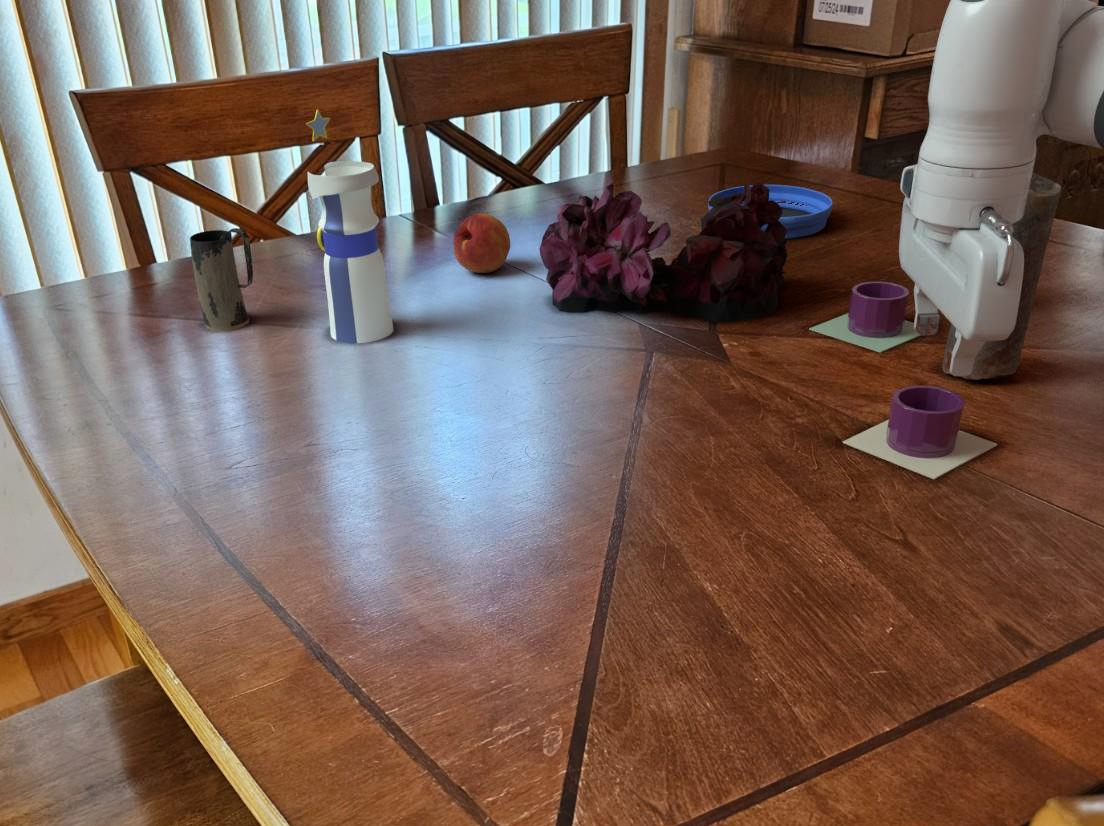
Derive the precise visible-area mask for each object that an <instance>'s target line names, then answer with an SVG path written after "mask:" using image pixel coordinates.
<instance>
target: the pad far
mask: <svg viewBox="0 0 1104 826" xmlns="http://www.w3.org/2000/svg"><path fill="white" fill-rule="evenodd" d="M848 313H849V312H847V313H844V314H842V315H840V316H838V317H835V318H832V319H829V320H828V321H824V322H822V323H820V324H817V325H814V326H812V327H809V331H812V332H816V333H818V334H821V335H825V336H828V337H831V338H833V339H837V340H840V341H843V342H846V343H850V344H853V345H855V346H858V347H861V348H865V349H868V350H871V351H874V352H877V353H880V354H881V353H884V352H886V351H889V350H890V349H894V348H895V347H897V346H900V345H903V344H905V343H908V342H910V341H912V340H914V339H916V338H918V337H922V335H920V334H919V333H918V332H917V331H916V330H915V329H914V322H913V321H909V320H906V319H905V322H904V326H903V331H902V332H901V333H900V334H899V335H896V336H893V337H887V338H870V337H864V336H860V335H857V334H854V333H852V332H850V331H849V330H848V328H847V324H848V321H847V320H848Z"/></svg>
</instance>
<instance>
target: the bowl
mask: <svg viewBox="0 0 1104 826" xmlns="http://www.w3.org/2000/svg"><path fill="white" fill-rule="evenodd" d="M764 185H765V186H766V187H767V188H768V189H769V201H770V200H773V201H775V202H781V201H786V203H778V204H779V206H780V207H781V208H782V209H783V213H782V215H781V217H780V219H779V220H778V221H779V222H780V223H781V224H782V225H783V226H784V227H785V229H787V230H788V231H787V233H786V235H785V239H786V240H791V239H799V238H803V237H804V238H805V237H808V236H811V235H814V234H815V235H816V234H817V233H818V232H821V231H822V230H823V229H824V228H825V227H826V225H827V221H828V218H829V217H830V215H831V213H832V211H833V205H834V204H833V200H832V198H831V197H830V196H828V195H827V194H826V193H824V192H821V191H818V190H814V189H810V188H806V187H801V186H795V185H794V186H793V185H784V184H764ZM744 186H745V185H742V186H736V187H730V188H727V189H723V190H720V191H718V192H715V193H714V194H712V195H711V196H710V197H709V198H708V201H710V200H711V199H713V198H714V197H715V196H716V197H728V196H730V195H732V194H734V193H743V191H744ZM752 186H753V184H752V185H750V184H749V187H750V189H751V188H752ZM791 202H794V203H792V204H788V203H791ZM743 203H744V202H743ZM797 203H799V204H798V205H795V204H797ZM802 204H804V205H802ZM741 205H743V206H744V204H741ZM800 205H802V206H800ZM806 205H807V206H806ZM712 208H713V207H711V206H709V203H708V204H707V209H708V212H709V211H710V210H711V209H712ZM767 226H768V224H765V225H763V226H762V227H761V230H763V231H765V230H766V228H767Z"/></svg>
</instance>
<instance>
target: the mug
mask: <svg viewBox="0 0 1104 826" xmlns="http://www.w3.org/2000/svg"><path fill="white" fill-rule="evenodd" d="M232 233H235V234H237V235H239V237H240V238H241V240H242V245H243V251H244V258H245V264H246V265H245V266H246V272H247V273H246V274H247V284H243V283H242V284H240V279H239V276H238V270H237V263H236V258H235V251H234V245H233V235H232ZM189 244H190V245H189V246H190V256H191V262H192V269H193V275H194V276H193V277H194V282H195V286H196V291H197V297H198V301H199V306H200V310H201V313H202V317H203V321H204V325H205V328H206V329H208V330H211V331H215V332H217V331H219V332H224V331H233V330H236V329H237V330H238V329H240V328H242V327H244V326H246V325H248V324H249V322H250V318H249V315H248V311H247V307H246V304H245V301H244V297H243V293H242V289H246V288H247V287H249V286H251V285H252V284H253V280H254V279H253V278H254V268H253V258H252V257H253V256H252V249H251V241H250V236H249V235H248V233H247V231H246V230H244V229H243V228H239V227H237V228H236V227H235V228H234V227H233V228H231V229H229V230H224V229H213V230H206V231H201V232H197V233H194V234H193V235H191V236H190V237H189Z"/></svg>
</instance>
